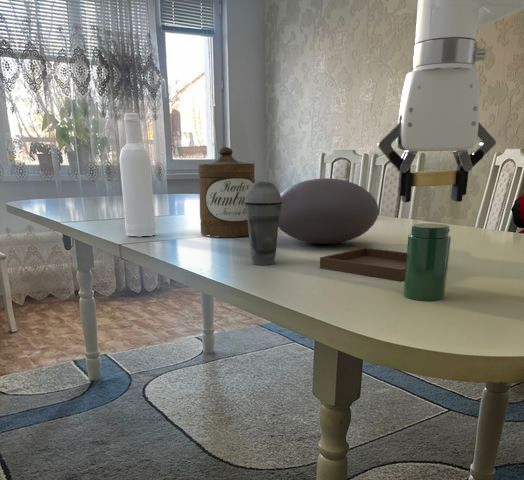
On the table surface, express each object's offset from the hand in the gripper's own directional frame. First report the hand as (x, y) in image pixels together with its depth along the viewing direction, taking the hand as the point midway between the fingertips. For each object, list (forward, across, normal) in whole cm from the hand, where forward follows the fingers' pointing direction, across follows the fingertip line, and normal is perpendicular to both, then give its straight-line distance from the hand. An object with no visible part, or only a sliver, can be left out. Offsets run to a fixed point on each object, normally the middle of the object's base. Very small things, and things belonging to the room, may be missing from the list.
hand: (431, 200), depth 77 cm
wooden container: (+14, +37, -67) cm, 78 cm away
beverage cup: (+14, +26, -26) cm, 39 cm away
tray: (+14, +3, -22) cm, 26 cm away
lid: (-3, 0, 0) cm, 3 cm away
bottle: (+14, +60, -64) cm, 89 cm away
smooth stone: (+14, +12, -51) cm, 55 cm away
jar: (+14, 0, 0) cm, 14 cm away
